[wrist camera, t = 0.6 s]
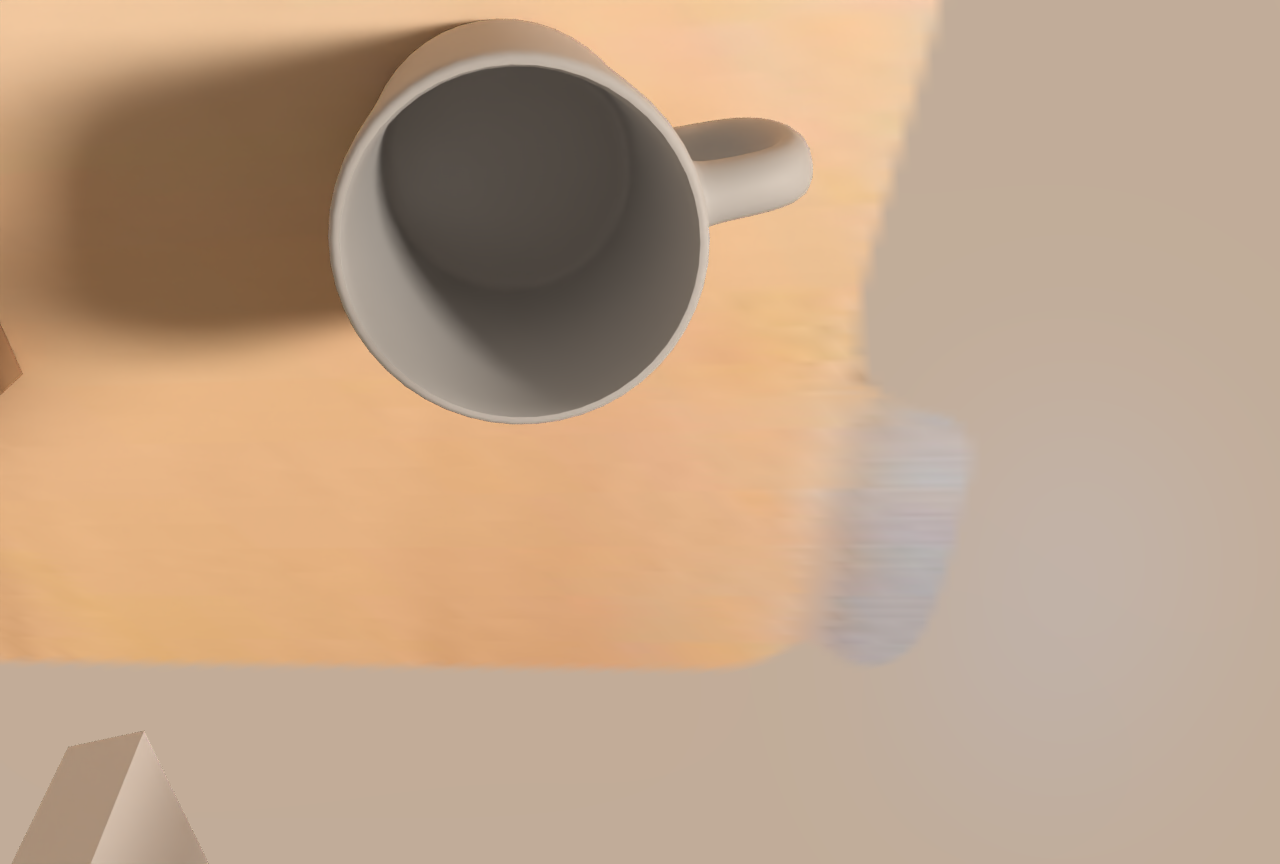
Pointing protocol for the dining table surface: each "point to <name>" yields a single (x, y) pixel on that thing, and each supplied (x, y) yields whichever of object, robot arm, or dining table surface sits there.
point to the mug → (535, 222)
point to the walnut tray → (7, 364)
